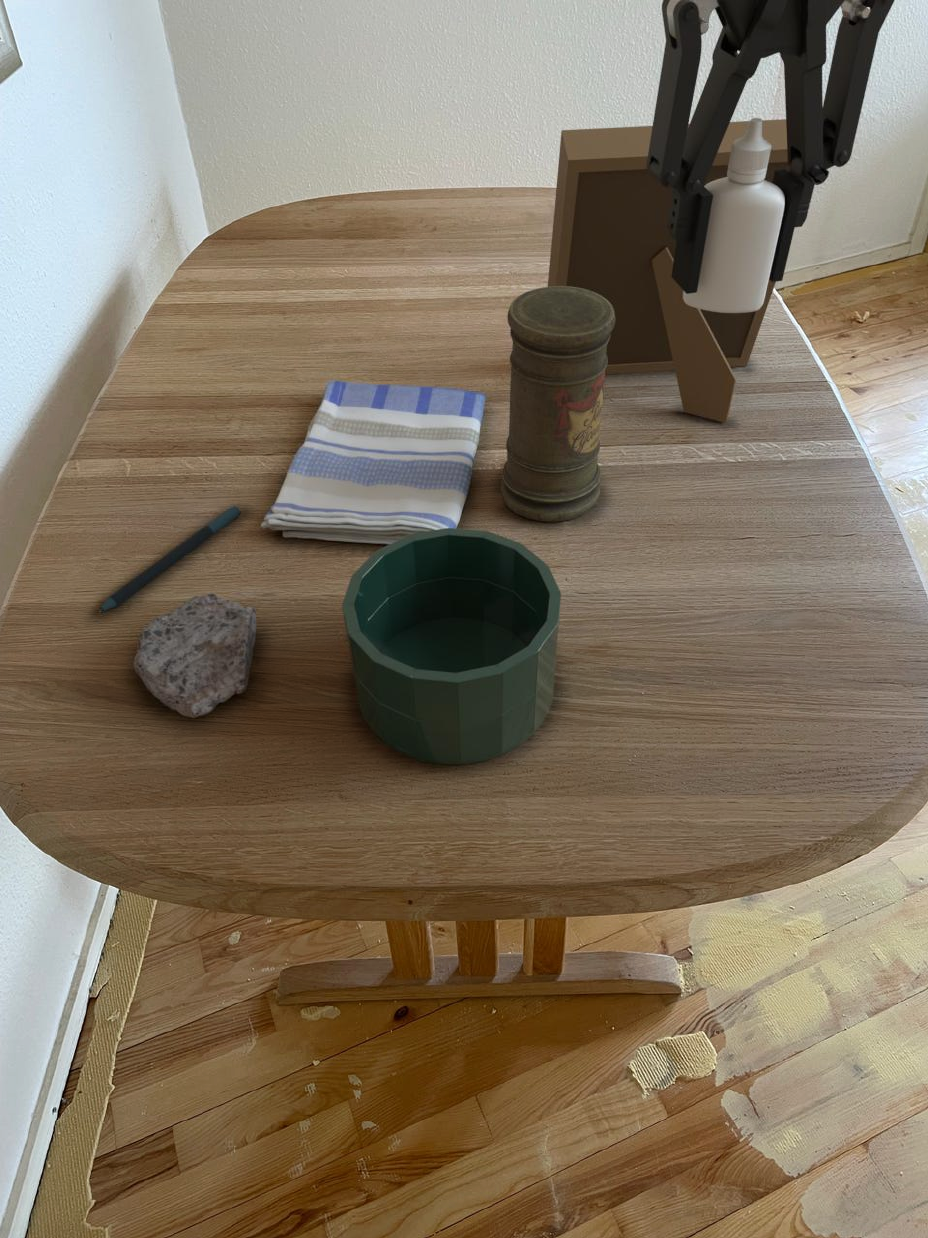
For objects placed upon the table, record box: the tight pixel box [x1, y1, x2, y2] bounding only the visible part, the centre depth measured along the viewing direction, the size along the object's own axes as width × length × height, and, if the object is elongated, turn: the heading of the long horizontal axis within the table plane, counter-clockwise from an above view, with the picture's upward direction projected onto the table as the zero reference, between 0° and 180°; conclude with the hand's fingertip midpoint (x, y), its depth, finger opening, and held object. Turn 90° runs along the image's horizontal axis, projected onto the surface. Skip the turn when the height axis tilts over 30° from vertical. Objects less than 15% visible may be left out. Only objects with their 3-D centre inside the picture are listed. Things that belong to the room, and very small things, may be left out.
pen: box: [99, 505, 241, 613], centre depth 78 cm, size 1×16×1 cm, turn 145°
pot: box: [341, 528, 562, 766], centre depth 65 cm, size 15×15×9 cm
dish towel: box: [260, 380, 487, 545], centre depth 86 cm, size 17×24×3 cm
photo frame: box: [547, 118, 790, 423], centre depth 87 cm, size 15×22×25 cm
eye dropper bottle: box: [683, 117, 785, 313], centre depth 61 cm, size 4×6×12 cm
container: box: [500, 286, 615, 523], centre depth 77 cm, size 9×9×18 cm
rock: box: [133, 593, 258, 719], centre depth 68 cm, size 9×11×4 cm
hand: (726, 277), depth 64 cm, fingers closed on eye dropper bottle, 6 cm apart
